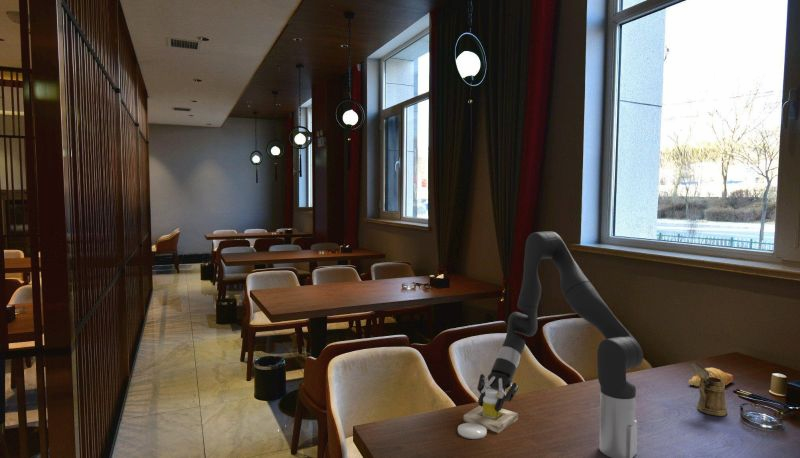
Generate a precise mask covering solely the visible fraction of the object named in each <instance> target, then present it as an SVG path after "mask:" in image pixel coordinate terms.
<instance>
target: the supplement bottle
mask: <svg viewBox="0 0 800 458" xmlns="http://www.w3.org/2000/svg"><path fill="white" fill-rule="evenodd" d="M485 395H486V396H484V398H483V417H485V418H488V419H491V420H494V421H495V420H497V419H498V418H499V412H497V411H496V410H495V405H496V403H497V400H498V398H499V397H498V391H497V390H494V389H487V390H485Z"/></svg>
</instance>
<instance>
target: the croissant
mask: <svg viewBox="0 0 800 458" xmlns="http://www.w3.org/2000/svg"><path fill="white" fill-rule="evenodd" d="M703 368H704V369H706V370H707V372H708V373H709V376H710V377H716V378H719V379H721V380H723V384H724V386H725V385H726V386H727V385H729V384H730V383H732V382H733V380H734V378H735V375H733V374H731V373H729V372H724V371H722V369H721V368H720V369H719V368H716V367H703ZM700 380H701V379H700V377H698V376H697V375H696V374H695V375H693V376H692V377H691V378H690V379H688V384H689V385H691V386H693V385H694V387H699V385H700ZM726 386H725V387H726Z"/></svg>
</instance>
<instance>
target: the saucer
mask: <svg viewBox="0 0 800 458" xmlns="http://www.w3.org/2000/svg"><path fill="white" fill-rule="evenodd" d="M487 430H488V429H486V428H485V427H484V426H483V425H480V424H477V423H468V422H465V423H464V422H463V423H462V424H459V425H458V427H457V434H458V435H459V436H460V437H463V438H464V439H471V440H478V439H483V438H485V437H487V434H488V433H487V432H488V431H487Z"/></svg>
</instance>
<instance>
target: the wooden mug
mask: <svg viewBox="0 0 800 458" xmlns="http://www.w3.org/2000/svg"><path fill="white" fill-rule="evenodd" d="M690 368H691V370H692V372H693V373H694V374H695V376H696V375H697V376H698V377H700V379H701V380H700V385H699V386H698V388H699V389H698V390H699V391H698V392H699V398H698V402H697V403H696V404H697V405H696V409H697V410H698V411H699V412H701V413H704V414H706V415H710V416H713V415H714V417H725V416H727V415H728V408H727V405H726V403H727V402H726V396H725V390H726V388H725V387H726V386H724V384H723V380H721V379H719V378H716V377H710V376H709V373H708V372H707V370H706V369H704V368H705V367H703V366H702V365H700V364H698V363H697V362H693V363H691V364H690ZM726 414H727V415H726Z"/></svg>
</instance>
